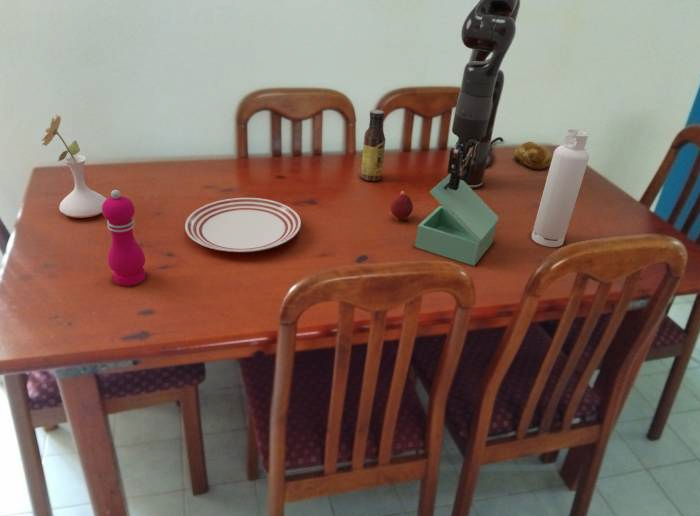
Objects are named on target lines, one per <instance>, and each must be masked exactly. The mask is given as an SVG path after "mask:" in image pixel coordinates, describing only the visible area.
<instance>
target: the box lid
mask: <svg viewBox="0 0 700 516" xmlns="http://www.w3.org/2000/svg"><path fill="white" fill-rule="evenodd" d="M466 173H467V169H466V168H465V167H464V168H463V171H462V174H461V178H462V177H463V176H464V175H465V174H466ZM450 176H451V173H448V175H447V176H446V177H445V178H443V179H442V180H441V181H440V182H439V183H438V184H436V185H435V186H434V187H432V188H431V190H430V191H429V192H428V193H429V194H430V195H431V196H432V197H433V198H434V199H435V200H436V201H437V202H438V203H439V204H440V206H443V207H444V208H445V209H446V210H447V211H448V212H449V213H450V214H451V215H452V216H453V218H454V219H455V220H456V221H457V222H458V223H459V224H460V225H461V226H462V227H463V228H464V229H465V230H466V231H467V232H468V233H469V234H470V235H471V236H472V237H473V238H474V239H475V240H476V241H477V243H478V242H479V241H481V240H482V238H483V237H484V236H485V235H486V234H487V232H488V231H489V230H490V229H491V228H492V226H493V225H494V224H495V223H496V222H497V223H498V220H499V219H500V217H499V215H497V213H495V212H494V211H493V210H492V209H491V207H490V206H489V205H488V204H486V203H485V202H484V201H483V199H482V198H481V197H480V196H479V195H478V194H477V193H476V192H475V190H474V189H471V188H470V187H469V186H468V185H467V184H466V183H465V182H464V181H463V180H460V183H459V188H458V189H457V190H452V189H449V182H450ZM461 178H460V179H461Z"/></svg>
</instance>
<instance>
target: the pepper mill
mask: <svg viewBox="0 0 700 516" xmlns="http://www.w3.org/2000/svg"><path fill="white" fill-rule="evenodd" d="M135 211H136V210H135V205H134V203H133V201H132V200H131V198H128V197H126V196H124V195H122V193H121V191H119V190H118V189H113V190H112V191H111V192H110V197H108V198H106V200H105V201H104V203H103V205H102V213H101V214H102V216H103V217H104V219H105V220H107V221H106V225H107V229H108V230H109V231H110V233H111V246H110V249H109V250H108V251H109V252H108V256H107V265H108V267H109V268H110V270H112V276H113V277H112V278H113V281H114V283H115V284H117V285H119V286H123V287H124V286H126V287H131V286H136V285H139V284H140V283H142V282H143V281H144V280H145V279H146V273H145V267H144V266H145V263H146V256H145V253H144V251H143V249H142V247H141V246H140V244H139V243H138V242H137V241H136V238H135V235H134V231H133V230H134V227H135V221H134V218H133V217H134V215H135Z"/></svg>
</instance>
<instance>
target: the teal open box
mask: <svg viewBox="0 0 700 516" xmlns="http://www.w3.org/2000/svg"><path fill="white" fill-rule="evenodd" d="M497 224H498V221H497V222H496V223H495V224H494V225H493V226H492V228H491V229H490V230H489V231H488V232H487V234H486V235H485V236H484V237H483V238H482V240H481V241H479V242H478V243H477V241H476V240H475V239H474V238H473V237H472V236H471V235H470V234H469V233H468V232H467V231H466V230H465V229H464V228H463V227H462V226H461V225H460V224H459V223H458V222H457V221H456V220H455V219H454V218H453V216H452V215H451V214H450V213H449V212H448V211H447V210H446V209H445V208H444V207H443V206H442V205H439V206H438V207H436V208H435V209H434V210H433V211H432V212H431V213H430V214H429V215H428V216H427V217H426V218H424V219H423V220H422V221H421V222H420V223H419V224H418V225H417V231H416V237H415V244H414V248H417V249H420V250H423V251H426V252H428V253H432V254H436V255H438V256H442V257H444V258H448V259H451V260H454V261H457V262H461V263H464V264H467V265H469V266H473V267H475V266H476V265H477V263H478V262H479V260H481V258H482V257H483V256H484V255H485V253H486V251H488V249H489V248H490V246H492V244H493V241H494V237H495V233H496V229H497Z"/></svg>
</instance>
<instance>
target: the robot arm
mask: <svg viewBox="0 0 700 516" xmlns="http://www.w3.org/2000/svg"><path fill="white" fill-rule="evenodd" d="M520 8H521V0H479V1H478V2H477V4H476V5H475V6H474V7H473V8H472V9H471V11H469V13H468V15H467V16H466V18H465V19H464V20H463V21H464V22H463V24H462V27H461V30H460V31H461V32H460V38H461V41H462V44H463V45H464V46H465V47H466V48H467V49H471V53H470V56H469V59H468V62H467V63H466V64H465V66H464V69H463V73H462V78H461V84H460V89H459V94H458V96H457V100H456V105H455V111H454V117H453V121H452V127H451V132H452V134H453V135H455V136H456V137H457V141H456V142H455V144H454V146H453V147H451V149H450V150H449V156H448V157H449V158H448V165H447V174H451V176H450V182H449V189H452V190H457V189H458V188H459V183H460V180H463V181H464V182H465V183H466V184H467V185H468V186H469V187H470V188H471V189H472V190H474V189H479V188H481V187H482V186H483V183H484V178H485V177H484V175H485V172H486V168H488V167H489V166H490V165H491V164H492V163H493V161H494V159H493V158H494V155H493V153H492V150H491V147H492V145H493V144H495V143H496V142H498V141H500V142H504V138H503V137H501V136H497V137H495V138H494V139H492V137H493V132H494V127H495V122H496V118H497V113H498V109H499V105H500V102H501V97H502V94H503V89H504V85H505V74H504V71H503V70H502V69H501V66H502V64H503V62H504V59H505V57H506V55H507V54H508V51H509V49H510V47H511V46H512V44H513V41H514V39H515V36H516V33H517V26H516V23H517V19H518V15H519V11H520ZM490 55H491V56H490ZM489 56H490V57H489ZM487 58H488V59H487ZM488 156H489V160H488ZM464 167H465V168H466V169H467V173H466V174H465V175H464V176H463V177H462V178H461V174H462V171H463V168H464ZM460 178H461V179H460Z"/></svg>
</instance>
